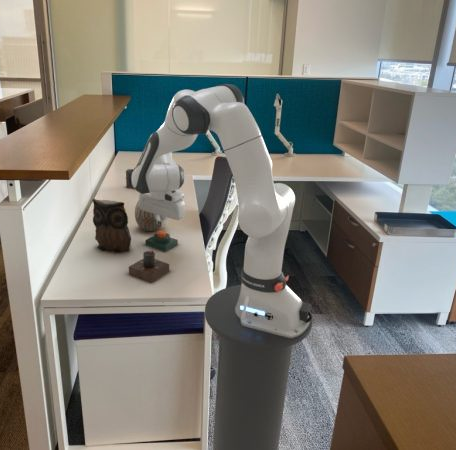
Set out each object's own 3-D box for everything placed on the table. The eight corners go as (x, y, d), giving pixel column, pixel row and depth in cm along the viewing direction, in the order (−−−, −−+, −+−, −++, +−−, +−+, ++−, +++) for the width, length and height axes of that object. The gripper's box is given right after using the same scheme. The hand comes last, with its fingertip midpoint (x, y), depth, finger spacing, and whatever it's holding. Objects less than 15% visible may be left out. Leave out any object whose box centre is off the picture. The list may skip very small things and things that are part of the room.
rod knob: (149, 268, 152) (149, 256, 150) (141, 265, 154) (140, 252, 152) (157, 264, 155) (157, 252, 153) (149, 261, 157) (148, 249, 155)
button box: (177, 244, 178) (177, 235, 177) (165, 251, 172) (165, 242, 170) (158, 238, 183) (158, 229, 181) (145, 244, 177) (145, 235, 175)
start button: (168, 236, 177) (168, 232, 176) (162, 239, 174) (162, 235, 173) (160, 234, 178) (160, 229, 178) (155, 236, 176) (155, 232, 175)
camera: (124, 187, 244) (124, 170, 240) (127, 185, 248) (126, 168, 244) (153, 190, 241) (152, 172, 237) (155, 188, 245) (155, 171, 241)
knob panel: (169, 271, 157) (169, 263, 156) (151, 282, 149) (151, 274, 148) (147, 263, 162) (147, 255, 161) (128, 274, 154) (128, 266, 153)
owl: (132, 252, 170) (131, 202, 163) (99, 257, 165) (96, 206, 158) (123, 239, 181) (122, 192, 173) (92, 243, 176) (89, 195, 168)
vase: (158, 236, 185) (158, 196, 178) (129, 232, 188) (128, 192, 181) (170, 225, 196) (170, 187, 190) (142, 221, 200) (142, 183, 193)
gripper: (134, 187, 171) (135, 221, 177) (177, 199, 161) (176, 233, 167) (145, 184, 176) (145, 216, 182) (187, 194, 166) (186, 228, 172)
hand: (160, 224), depth 174 cm, fingers closed
